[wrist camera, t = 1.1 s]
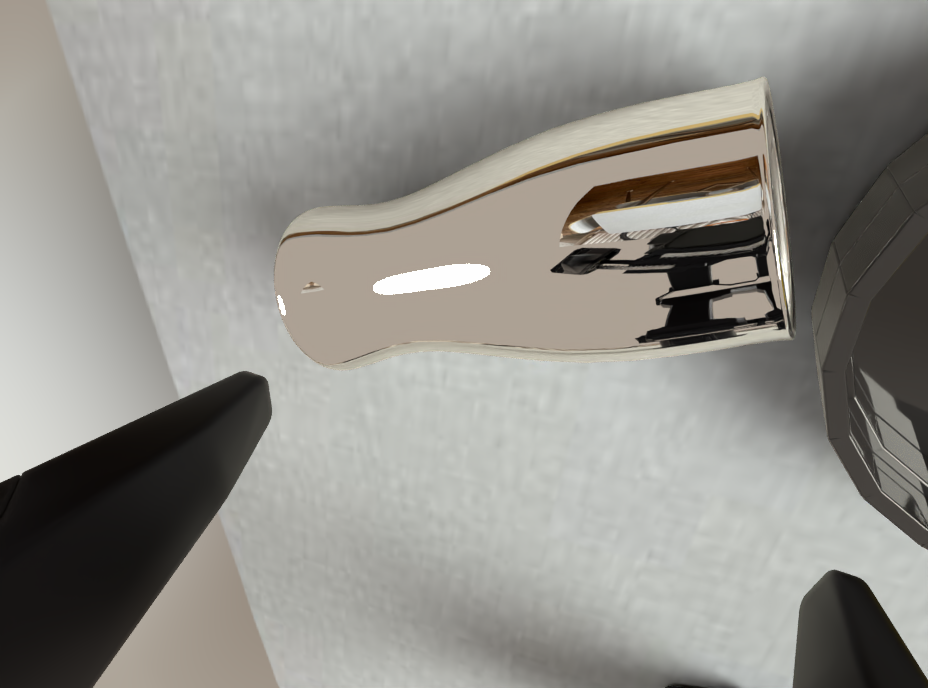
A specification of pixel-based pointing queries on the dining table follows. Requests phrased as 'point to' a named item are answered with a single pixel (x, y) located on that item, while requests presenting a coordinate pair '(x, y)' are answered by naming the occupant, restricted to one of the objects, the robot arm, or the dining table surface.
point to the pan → (880, 343)
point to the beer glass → (563, 246)
